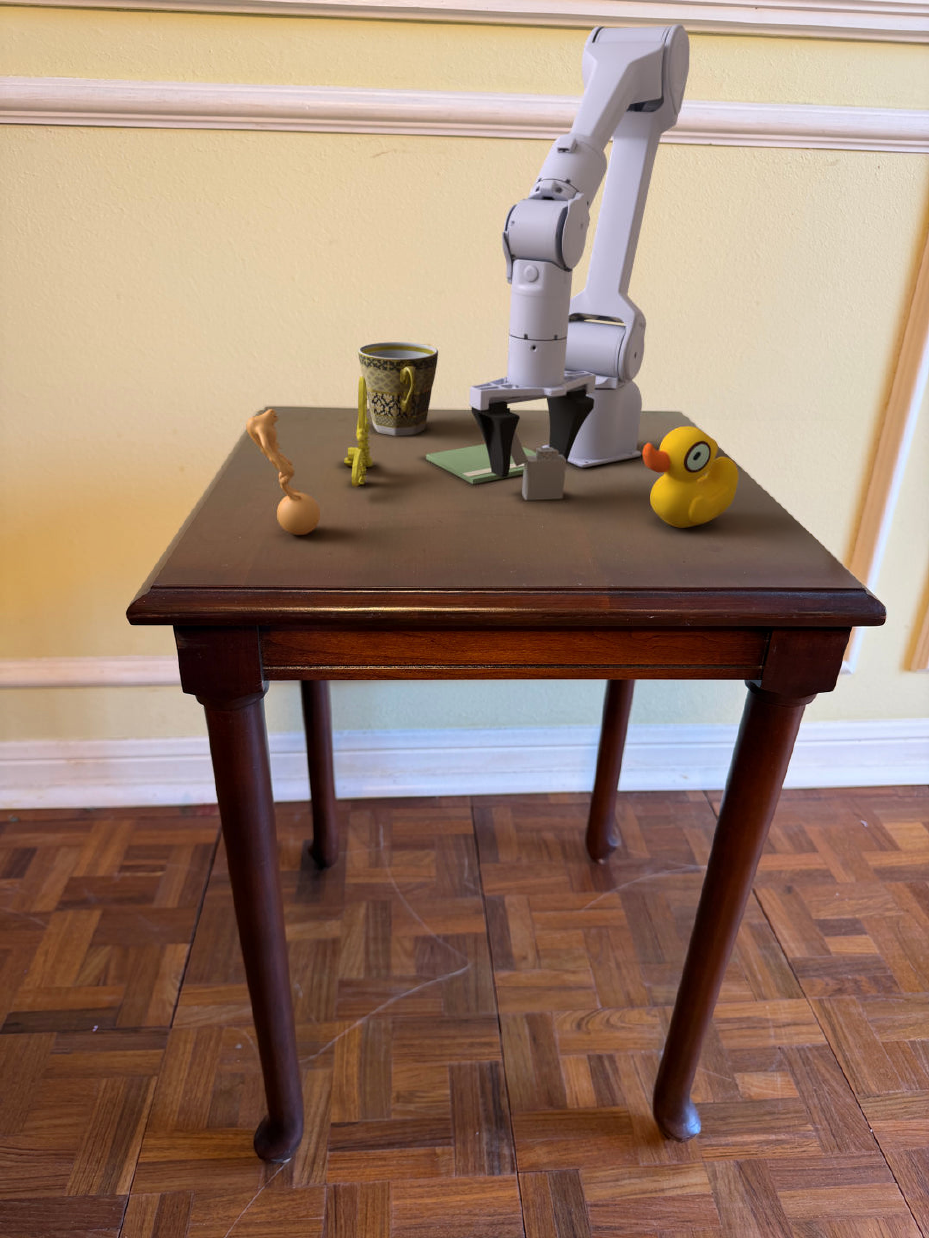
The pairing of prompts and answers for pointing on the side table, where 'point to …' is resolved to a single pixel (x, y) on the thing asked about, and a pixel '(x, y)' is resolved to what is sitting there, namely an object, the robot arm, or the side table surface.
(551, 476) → the lighter
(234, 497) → the side table surface
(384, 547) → the side table surface
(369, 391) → the ceramic cup
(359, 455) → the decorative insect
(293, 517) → the figurine
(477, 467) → the towel
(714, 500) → the duckling
